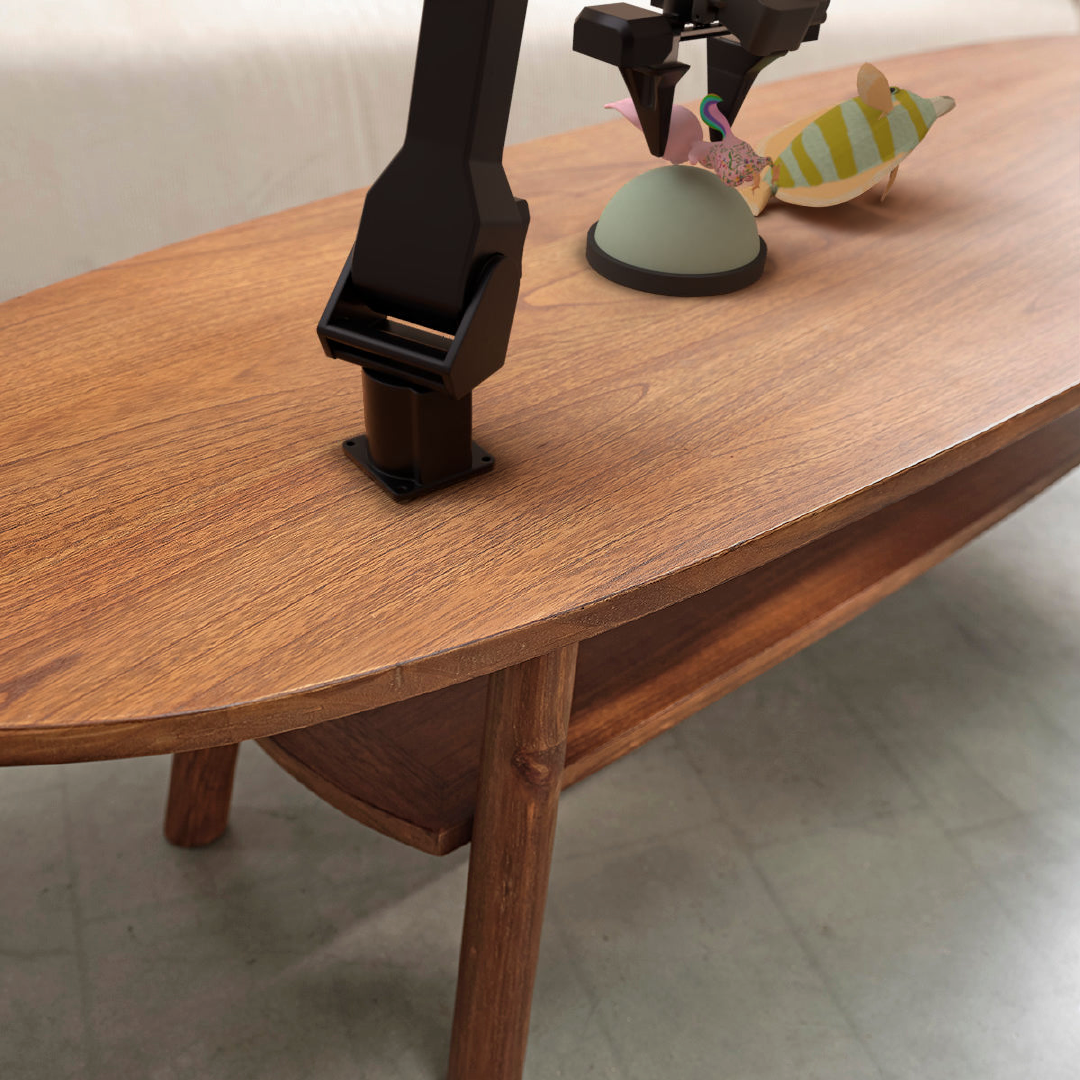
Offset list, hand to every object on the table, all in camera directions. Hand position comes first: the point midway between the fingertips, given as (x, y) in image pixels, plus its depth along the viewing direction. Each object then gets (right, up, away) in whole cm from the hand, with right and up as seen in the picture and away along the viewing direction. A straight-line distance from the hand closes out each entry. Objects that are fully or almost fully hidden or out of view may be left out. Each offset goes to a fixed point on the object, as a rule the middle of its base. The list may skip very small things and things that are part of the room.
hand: (687, 149), depth 83 cm
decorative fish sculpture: (+15, +2, +18) cm, 23 cm away
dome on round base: (-1, -11, +9) cm, 14 cm away
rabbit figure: (0, -1, +1) cm, 1 cm away
